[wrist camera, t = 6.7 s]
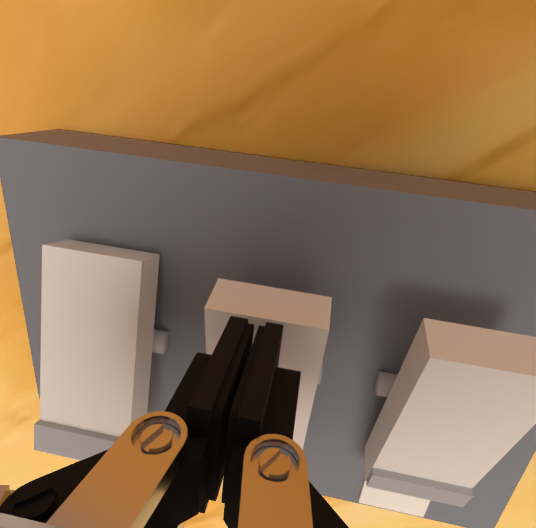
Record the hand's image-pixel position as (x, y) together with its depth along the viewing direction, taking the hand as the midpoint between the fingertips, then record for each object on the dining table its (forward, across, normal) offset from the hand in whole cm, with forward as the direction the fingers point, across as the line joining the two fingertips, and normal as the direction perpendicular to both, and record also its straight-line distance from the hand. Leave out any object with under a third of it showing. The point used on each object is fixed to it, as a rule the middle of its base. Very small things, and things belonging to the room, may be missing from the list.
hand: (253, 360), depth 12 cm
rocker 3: (+2, -7, +3) cm, 8 cm away
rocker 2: (+2, 0, +3) cm, 4 cm away
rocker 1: (+2, +7, +3) cm, 8 cm away
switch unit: (+8, 0, +3) cm, 9 cm away
